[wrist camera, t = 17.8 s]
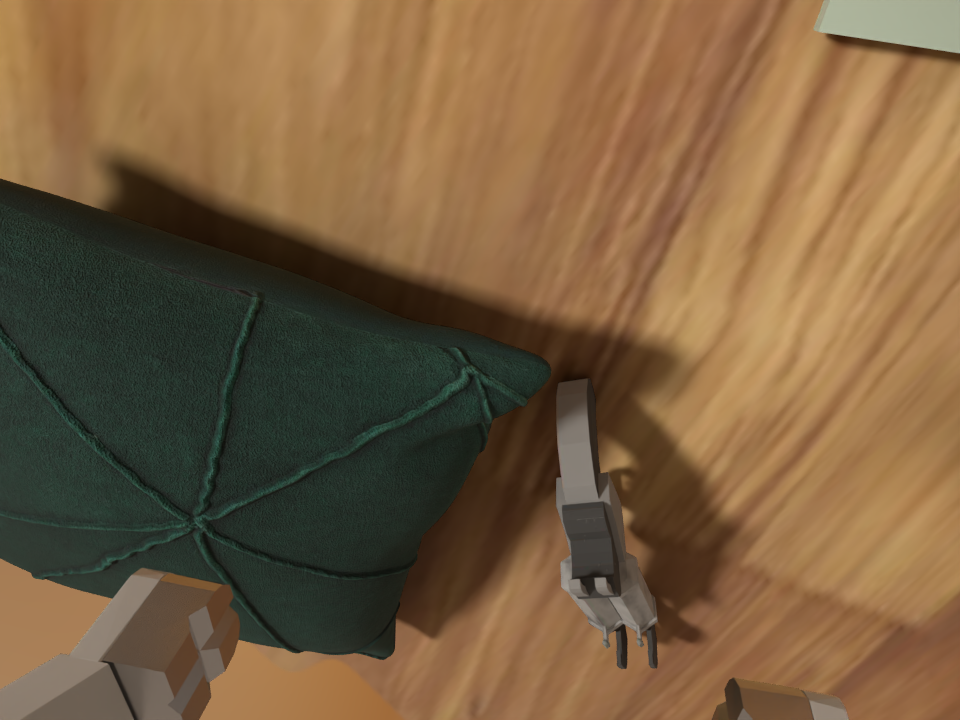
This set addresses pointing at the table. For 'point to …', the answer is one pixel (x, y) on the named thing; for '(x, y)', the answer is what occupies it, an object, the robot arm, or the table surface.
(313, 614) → the pillow
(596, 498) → the grey mechanical piece
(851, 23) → the lid
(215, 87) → the table surface
